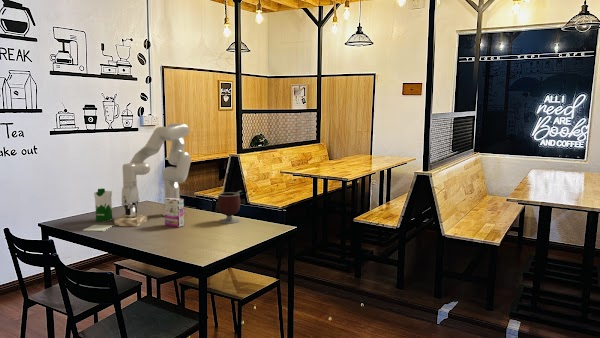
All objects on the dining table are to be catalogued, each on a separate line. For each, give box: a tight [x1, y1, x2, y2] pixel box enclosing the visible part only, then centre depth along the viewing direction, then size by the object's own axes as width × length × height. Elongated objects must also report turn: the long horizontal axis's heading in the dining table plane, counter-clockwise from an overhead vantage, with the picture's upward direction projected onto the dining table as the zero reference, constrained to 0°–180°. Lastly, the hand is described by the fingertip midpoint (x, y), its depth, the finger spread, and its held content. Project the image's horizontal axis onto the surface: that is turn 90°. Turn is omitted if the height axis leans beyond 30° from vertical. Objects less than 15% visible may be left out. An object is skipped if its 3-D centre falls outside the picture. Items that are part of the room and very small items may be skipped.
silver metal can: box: [127, 204, 137, 218], centre depth 272 cm, size 5×5×10 cm
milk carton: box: [93, 188, 114, 222], centre depth 279 cm, size 9×9×20 cm
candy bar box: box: [163, 197, 185, 228], centre depth 266 cm, size 11×5×16 cm, turn 62°
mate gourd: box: [217, 190, 242, 225], centre depth 278 cm, size 16×14×20 cm
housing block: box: [113, 213, 148, 227], centre depth 272 cm, size 14×14×4 cm
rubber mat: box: [82, 224, 115, 232], centre depth 259 cm, size 12×12×1 cm
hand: (131, 213), depth 272 cm, fingers closed on silver metal can, 5 cm apart
